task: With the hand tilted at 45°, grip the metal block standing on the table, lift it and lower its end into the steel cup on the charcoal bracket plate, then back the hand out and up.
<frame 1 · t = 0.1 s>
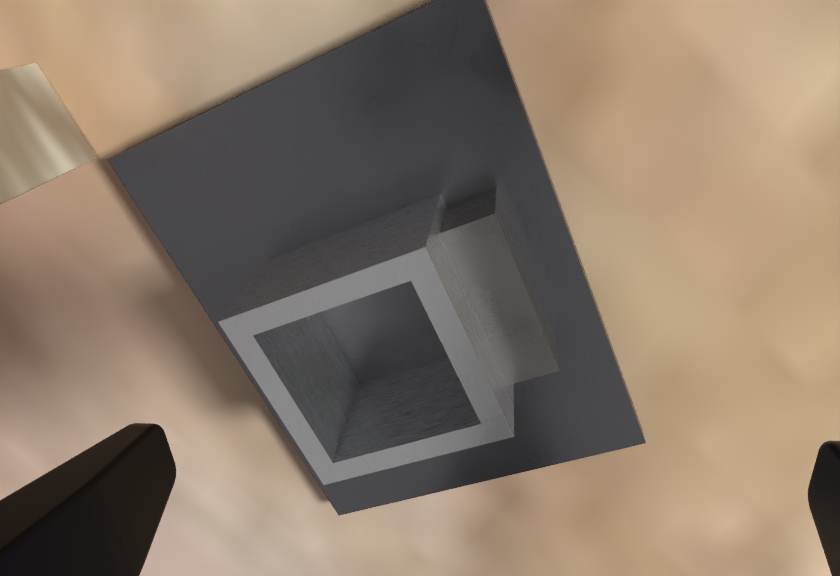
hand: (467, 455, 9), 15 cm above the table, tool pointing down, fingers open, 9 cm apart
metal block: (31, 130, 23), on the table
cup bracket: (396, 297, 24), on the table
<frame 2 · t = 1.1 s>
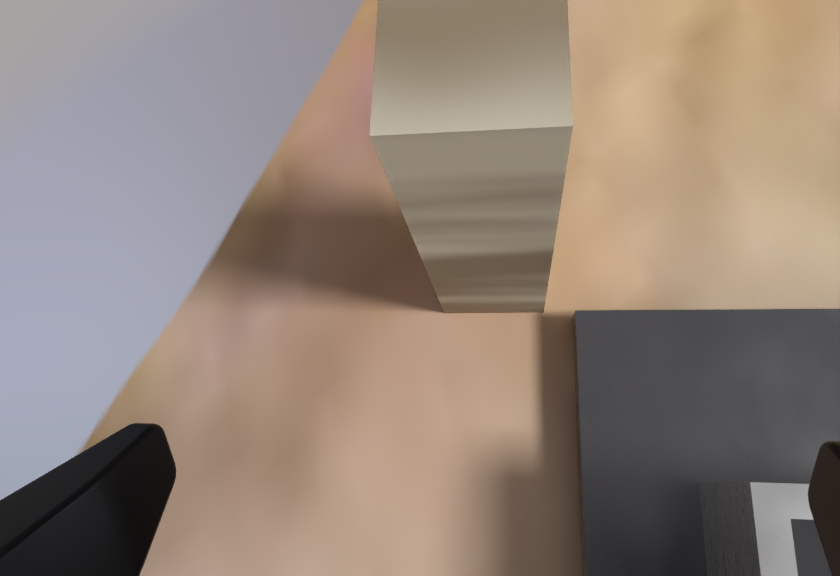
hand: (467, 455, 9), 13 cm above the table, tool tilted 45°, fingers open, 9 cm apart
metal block: (493, 265, 24), on the table
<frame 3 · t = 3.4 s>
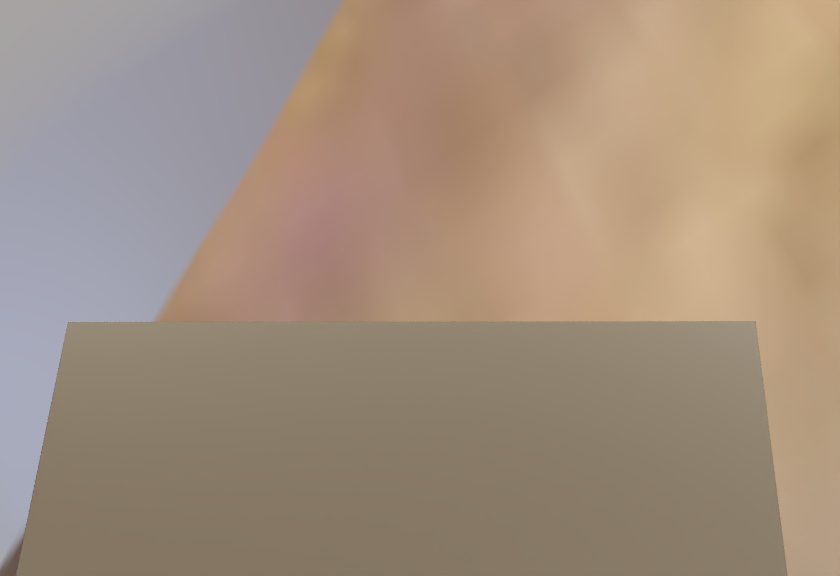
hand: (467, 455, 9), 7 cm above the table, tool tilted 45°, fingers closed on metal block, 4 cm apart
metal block: (487, 530, 15), on the table, touching gripper
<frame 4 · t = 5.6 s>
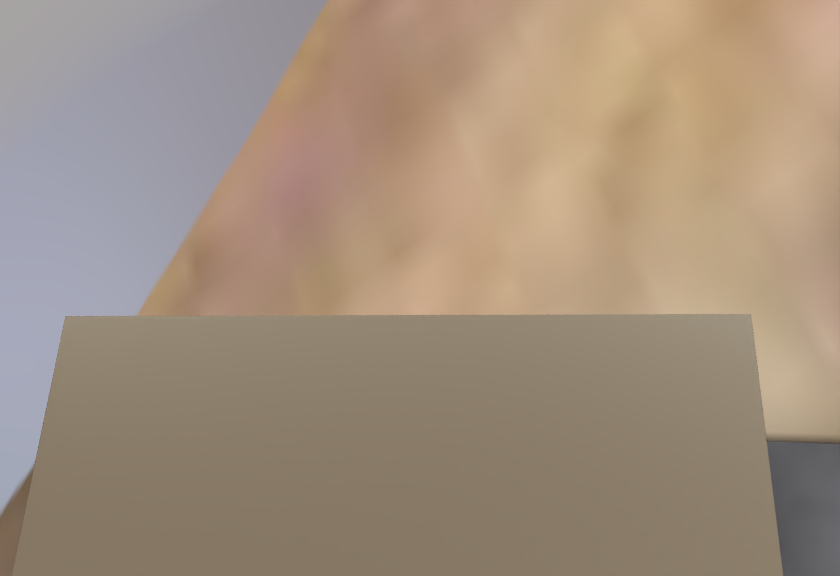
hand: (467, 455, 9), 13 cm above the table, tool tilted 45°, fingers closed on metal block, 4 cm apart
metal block: (487, 528, 15), point 6 cm above the table, touching gripper
when the fingers open (9 cm above the table, at t = 8.1 s): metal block drops 1 cm, resting on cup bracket.
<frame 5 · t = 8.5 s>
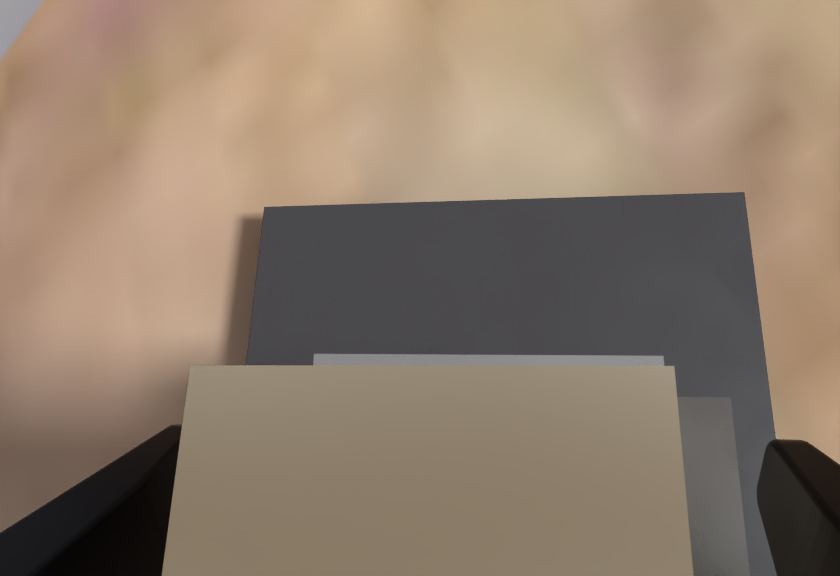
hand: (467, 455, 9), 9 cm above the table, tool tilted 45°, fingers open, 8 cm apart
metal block: (489, 524, 16), point 1 cm above the table, touching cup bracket
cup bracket: (491, 523, 17), on the table
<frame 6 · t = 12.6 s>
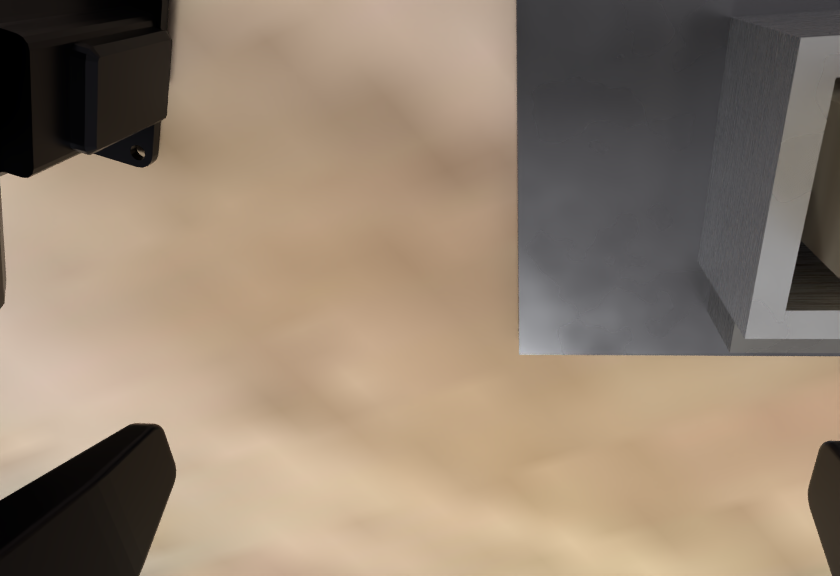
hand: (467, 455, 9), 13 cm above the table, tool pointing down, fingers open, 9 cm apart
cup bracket: (830, 135, 18), on the table
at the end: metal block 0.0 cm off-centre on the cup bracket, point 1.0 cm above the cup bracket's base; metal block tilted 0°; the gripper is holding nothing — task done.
